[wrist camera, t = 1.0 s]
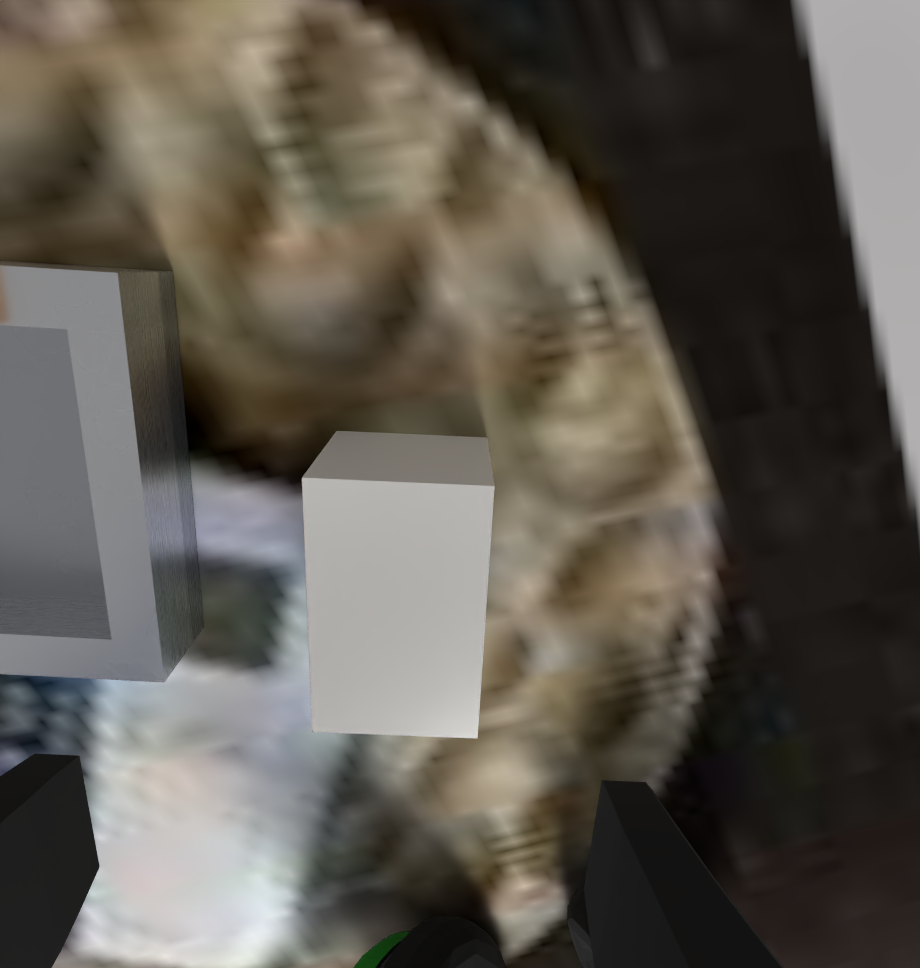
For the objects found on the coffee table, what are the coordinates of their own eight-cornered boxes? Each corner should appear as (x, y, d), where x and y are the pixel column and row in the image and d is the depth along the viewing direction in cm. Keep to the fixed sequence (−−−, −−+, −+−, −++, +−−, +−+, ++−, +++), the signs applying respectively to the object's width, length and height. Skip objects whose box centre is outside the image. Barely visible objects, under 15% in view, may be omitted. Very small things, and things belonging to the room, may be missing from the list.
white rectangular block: (474, 643, 19) (477, 738, 15) (341, 638, 19) (312, 732, 15) (486, 435, 17) (494, 486, 13) (337, 429, 17) (302, 477, 13)
